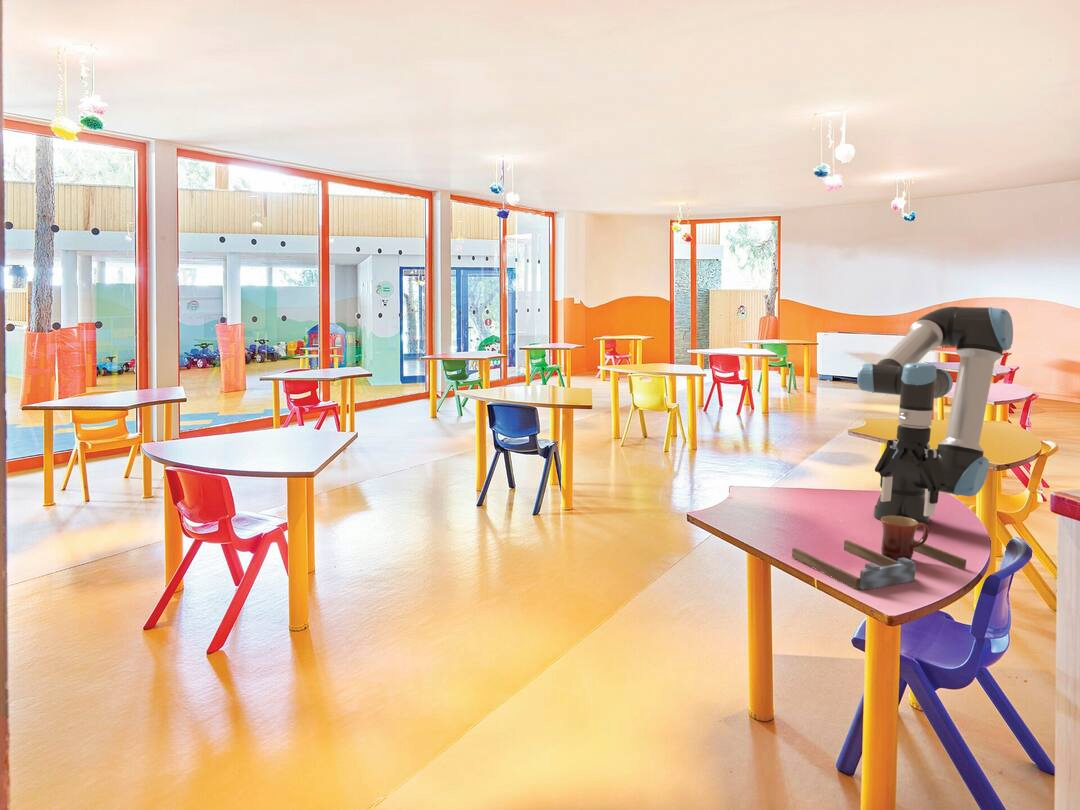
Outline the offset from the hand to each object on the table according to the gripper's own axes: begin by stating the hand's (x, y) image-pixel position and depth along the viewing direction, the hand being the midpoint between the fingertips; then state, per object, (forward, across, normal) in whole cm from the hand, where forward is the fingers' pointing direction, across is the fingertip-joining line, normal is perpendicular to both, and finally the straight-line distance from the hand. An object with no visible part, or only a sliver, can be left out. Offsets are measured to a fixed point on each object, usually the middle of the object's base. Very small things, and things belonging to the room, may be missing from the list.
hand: (906, 508), depth 198 cm
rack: (+14, 0, -8) cm, 16 cm away
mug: (+14, 0, 0) cm, 14 cm away
